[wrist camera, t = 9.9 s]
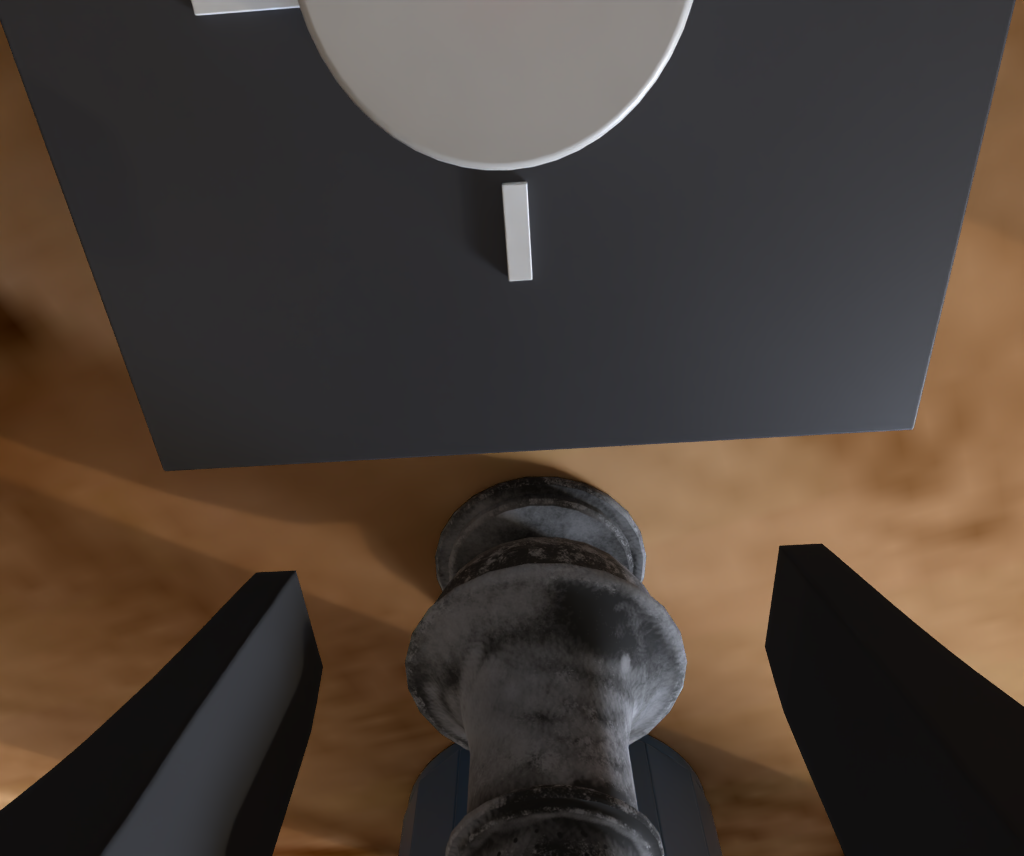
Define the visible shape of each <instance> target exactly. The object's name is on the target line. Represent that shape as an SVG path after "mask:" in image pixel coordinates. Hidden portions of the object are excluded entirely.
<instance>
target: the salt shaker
mask: <svg viewBox="0 0 1024 856" xmlns="http://www.w3.org/2000/svg"><path fill="white" fill-rule="evenodd" d="M435 560H436V572H437V580H438V582H439V584H440V587H441V589H442V591H443V592H442V593H441V595H440V596H439V598H438V599H437V601H436V602H435V603H434V605H433V606H431V607H430V608H429V609H428V611H427V612H426V614H425V615H424V617H423V618H422V620H421V621H420V622H419V624H418V625H417V627H416V628H415V630H414V631H413V633H412V636H411V640H410V644H409V648H408V652H407V656H406V660H405V667H406V675H407V684H408V689H409V691H410V693H411V695H412V697H413V699H414V701H415V703H416V705H417V707H418V709H419V711H420V713H421V714H422V715H423V716H424V717H425V718H426V719H427V720H428V721H429V722H430V723H431V724H432V725H433V726H434V727H435V728H436V729H437V730H438V731H439V732H440V733H441V734H442V735H444V736H445V737H447V738H448V739H450V740H452V741H453V742H455V743H457V744H458V745H460V746H461V747H463V748H465V749H466V750H469V751H470V768H469V784H468V800H467V815H465V816H464V818H463V819H462V820H461V821H460V822H459V823H458V825H457V826H456V827H455V828H454V829H453V830H452V832H451V835H450V837H449V840H448V843H447V846H446V851H445V856H664V849H663V846H662V842H661V839H660V835H659V832H658V830H657V829H656V828H655V827H654V825H653V824H652V823H651V822H650V820H649V819H648V818H647V817H646V816H645V815H644V814H643V813H641V812H640V811H638V806H637V800H636V793H635V787H634V781H633V774H632V768H631V761H630V755H629V749H628V747H629V745H630V744H632V743H633V742H635V741H636V740H638V739H640V738H641V737H643V736H645V735H646V734H648V733H649V732H650V731H651V730H652V729H653V728H654V727H655V726H656V725H657V724H658V723H659V722H660V721H661V720H662V719H663V718H664V717H665V716H666V715H667V714H668V713H669V712H670V711H671V709H672V707H673V705H674V703H675V701H676V699H677V698H678V696H679V694H680V692H681V690H682V688H683V685H684V678H685V672H686V665H687V659H686V654H685V650H684V646H683V641H682V637H681V633H680V631H679V629H678V627H677V626H676V624H675V623H674V621H673V620H672V618H671V617H670V615H669V614H668V612H667V611H666V609H665V607H664V606H662V605H661V604H660V603H659V602H657V601H656V600H655V599H654V598H653V597H651V596H650V594H649V593H648V591H647V589H646V588H645V586H644V585H643V584H642V581H643V578H644V572H645V563H646V553H645V549H644V545H643V540H642V536H641V532H640V530H639V529H638V527H637V525H636V524H635V522H634V521H633V519H632V517H631V516H630V514H629V513H628V511H627V510H625V509H624V508H623V507H622V506H621V505H620V504H618V503H617V502H616V501H615V500H614V499H613V498H612V497H610V496H609V495H607V494H605V493H603V492H601V491H599V490H597V489H595V488H593V487H591V486H589V485H587V484H585V483H581V482H576V481H572V480H567V479H563V478H558V477H526V478H521V479H517V480H513V481H508V482H504V483H500V484H497V485H495V486H493V487H491V488H489V489H487V490H485V491H483V492H481V493H479V494H477V495H475V496H473V497H472V498H471V499H470V500H468V501H467V502H466V503H465V504H464V505H463V506H461V507H460V508H459V509H458V510H457V511H456V512H454V514H453V515H452V517H451V518H450V520H449V522H448V523H447V525H446V526H445V528H444V529H443V531H442V532H441V536H440V540H439V543H438V547H437V551H436V556H435Z"/></svg>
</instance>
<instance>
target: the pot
mask: <svg viewBox="0 0 1024 856" xmlns="http://www.w3.org/2000/svg"><path fill="white" fill-rule="evenodd" d="M628 749H629V755H630V761H631V768H632V774H633V781H634V787H635V793H636V800H637V806H638V811H640V812H641V813H643V814H644V815H645V816H646V817H647V818H648V819H649V820H650V822H651V823H652V824H653V825H654V827H655V828H656V829H657V830H658V832H659V835H660V839H661V842H662V846H663V849H664V856H722V852H721V847H720V843H719V839H718V835H717V831H716V827H715V823H714V819H713V815H712V811H711V807H710V804H709V802H708V801H707V799H706V797H705V795H704V791H703V787H702V785H701V783H700V781H699V778H698V776H697V775H696V773H695V772H694V771H693V769H692V768H691V766H690V765H689V764H688V763H687V762H686V761H685V760H684V759H683V758H682V757H681V756H680V755H679V754H678V753H677V752H675V751H674V750H673V749H671V748H670V747H668V746H667V745H666V744H664V743H662V742H660V741H659V740H657V739H655V738H653V737H651V736H649V735H647V734H646V735H645V736H643V737H641V738H640V739H638V740H636V741H635V742H633V743H632V744H630V745H629V747H628ZM469 768H470V751H469V750H466V749H465V748H463V747H461V746H460V745H458V744H457V743H454V744H453V745H451V746H450V747H449V748H447V749H446V750H444V751H443V752H441V753H440V754H439V755H438V756H437V757H435V758H434V759H433V760H432V761H431V762H430V763H429V764H428V765H427V766H426V768H425V769H424V770H423V771H422V773H421V774H420V775H419V777H418V779H417V781H416V782H415V784H414V786H413V788H412V791H411V795H410V798H409V803H408V808H407V811H406V813H405V815H404V820H403V827H402V834H401V841H400V848H399V856H445V851H446V846H447V843H448V840H449V837H450V835H451V832H452V830H453V829H454V828H455V827H456V826H457V825H458V823H459V822H460V821H461V820H462V819H463V818H464V816H465V815H467V800H468V784H469Z"/></svg>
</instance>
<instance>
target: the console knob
mask: <svg viewBox="0 0 1024 856" xmlns="http://www.w3.org/2000/svg"><path fill="white" fill-rule="evenodd" d="M298 3H299V6H300V9H301V12H302V14H303V17H304V20H305V23H306V26H307V28H308V31H309V33H310V35H311V37H312V39H313V41H314V43H315V45H316V47H317V49H318V52H319V54H320V56H321V58H322V59H323V61H324V62H325V64H326V65H327V67H328V69H329V70H330V72H331V73H332V75H333V77H334V78H335V80H336V81H337V83H338V84H339V85H340V86H341V88H342V89H343V90H344V91H345V93H346V94H347V95H348V96H349V98H350V99H351V100H352V101H353V103H354V104H355V105H356V106H357V107H358V108H359V109H360V110H361V111H362V112H364V113H365V114H366V115H367V116H368V117H369V118H370V119H371V120H372V121H373V122H374V123H375V124H376V125H378V126H379V127H380V128H382V129H383V130H384V131H385V132H387V133H388V134H389V135H391V136H392V137H393V138H395V139H396V140H398V141H400V142H402V143H403V144H405V145H407V146H408V147H410V148H412V149H413V150H415V151H417V152H420V153H422V154H424V155H427V156H429V157H431V158H434V159H436V160H438V161H442V162H445V163H449V164H453V165H456V166H460V167H465V168H473V169H480V170H514V169H521V168H529V167H534V166H538V165H541V164H545V163H548V162H552V161H556V160H558V159H560V158H563V157H565V156H567V155H570V154H572V153H574V152H576V151H579V150H580V149H582V148H584V147H585V146H587V145H589V144H590V143H592V142H594V141H595V140H597V139H599V138H600V137H602V136H603V135H604V134H605V133H607V132H608V131H609V130H611V129H612V128H613V127H614V126H616V125H617V124H618V123H619V122H621V121H622V120H623V119H624V118H625V117H626V116H627V115H628V114H629V113H630V112H631V111H632V110H633V109H634V107H635V106H636V105H637V104H638V103H639V102H640V101H641V100H642V99H643V97H644V96H645V95H646V93H647V92H648V91H649V90H650V88H651V87H652V86H653V84H654V83H655V82H656V80H657V79H658V77H659V76H660V74H661V72H662V71H663V69H664V67H665V66H666V64H667V62H668V61H669V59H670V57H671V56H672V54H673V51H674V49H675V47H676V45H677V43H678V41H679V38H680V36H681V34H682V32H683V30H684V27H685V24H686V21H687V18H688V15H689V12H690V9H691V6H692V3H693V0H298Z"/></svg>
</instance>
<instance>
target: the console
mask: <svg viewBox="0 0 1024 856" xmlns="http://www.w3.org/2000/svg"><path fill="white" fill-rule="evenodd" d="M1015 1H1016V0H693V3H692V6H691V9H690V12H689V15H688V18H687V21H686V24H685V27H684V30H683V32H682V34H681V36H680V38H679V41H678V43H677V45H676V47H675V49H674V51H673V54H672V56H671V57H670V59H669V61H668V62H667V64H666V66H665V67H664V69H663V71H662V72H661V74H660V76H659V77H658V79H657V80H656V82H655V83H654V84H653V86H652V87H651V88H650V90H649V91H648V92H647V93H646V95H645V96H644V97H643V99H642V100H641V101H640V102H639V103H638V104H637V105H636V106H635V107H634V109H633V110H632V111H631V112H630V113H629V114H628V115H627V116H626V117H625V118H624V119H623V120H622V121H621V122H619V123H618V124H617V125H616V126H614V127H613V128H612V129H611V130H609V131H608V132H607V133H605V134H604V135H603V136H602V137H600V138H599V139H597V140H595V141H594V142H592V143H590V144H589V145H587V146H585V147H584V148H582V149H580V150H579V151H576V152H574V153H572V154H570V155H567V156H565V157H563V158H560V159H558V160H556V161H552V162H548V163H545V164H541V165H538V166H534V167H529V168H521V169H514V170H480V169H473V168H465V167H460V166H456V165H453V164H449V163H445V162H442V161H438V160H436V159H434V158H431V157H429V156H427V155H424V154H422V153H420V152H417V151H415V150H413V149H412V148H410V147H408V146H407V145H405V144H403V143H402V142H400V141H398V140H396V139H395V138H393V137H392V136H391V135H389V134H388V133H387V132H385V131H384V130H383V129H382V128H380V127H379V126H378V125H376V124H375V123H374V122H373V121H372V120H371V119H370V118H369V117H368V116H367V115H366V114H365V113H364V112H362V111H361V110H360V109H359V108H358V107H357V106H356V105H355V104H354V103H353V101H352V100H351V99H350V98H349V96H348V95H347V94H346V93H345V91H344V90H343V89H342V88H341V86H340V85H339V84H338V83H337V81H336V80H335V78H334V77H333V75H332V73H331V72H330V70H329V69H328V67H327V65H326V64H325V62H324V61H323V59H322V58H321V56H320V54H319V52H318V49H317V47H316V45H315V43H314V41H313V39H312V37H311V35H310V33H309V31H308V28H307V26H306V23H305V20H304V17H303V14H302V12H301V9H300V6H299V3H298V0H0V21H1V24H2V27H3V29H4V32H5V35H6V38H7V40H8V43H9V46H10V49H11V51H12V54H13V57H14V60H15V62H16V65H17V68H18V71H19V73H20V76H21V79H22V82H23V84H24V87H25V90H26V93H27V95H28V98H29V101H30V104H31V106H32V109H33V112H34V115H35V117H36V120H37V123H38V126H39V128H40V131H41V134H42V137H43V139H44V142H45V145H46V148H47V150H48V153H49V156H50V159H51V161H52V164H53V167H54V170H55V172H56V175H57V178H58V181H59V183H60V186H61V189H62V192H63V194H64V197H65V200H66V203H67V205H68V208H69V211H70V214H71V216H72V219H73V222H74V225H75V227H76V230H77V233H78V236H79V238H80V241H81V244H82V247H83V249H84V252H85V255H86V258H87V260H88V263H89V266H90V269H91V271H92V274H93V277H94V280H95V282H96V285H97V288H98V291H99V293H100V296H101V299H102V302H103V304H104V307H105V310H106V313H107V315H108V318H109V321H110V324H111V326H112V329H113V332H114V335H115V337H116V340H117V343H118V346H119V348H120V351H121V354H122V356H123V359H124V362H125V365H126V367H127V370H128V373H129V376H130V378H131V381H132V384H133V387H134V389H135V392H136V395H137V398H138V400H139V403H140V406H141V409H142V411H143V414H144V417H145V420H146V422H147V425H148V428H149V431H150V433H151V436H152V439H153V442H154V444H155V447H156V450H157V453H158V455H159V458H160V461H161V464H162V466H163V469H164V470H165V471H176V470H194V469H212V468H230V467H248V466H266V465H284V464H302V463H320V462H338V461H356V460H374V459H392V458H410V457H428V456H446V455H464V454H482V453H500V452H518V451H536V450H554V449H572V448H590V447H608V446H626V445H644V444H661V443H679V442H697V441H715V440H733V439H751V438H769V437H787V436H805V435H823V434H841V433H859V432H877V431H895V430H912V429H913V428H914V425H915V421H916V416H917V412H918V408H919V404H920V400H921V395H922V391H923V387H924V383H925V379H926V374H927V370H928V366H929V362H930V358H931V353H932V349H933V345H934V341H935V337H936V332H937V328H938V324H939V320H940V316H941V311H942V307H943V303H944V299H945V295H946V290H947V286H948V282H949V278H950V274H951V269H952V265H953V261H954V257H955V253H956V248H957V244H958V240H959V236H960V232H961V227H962V223H963V219H964V215H965V211H966V206H967V202H968V198H969V194H970V190H971V185H972V181H973V177H974V173H975V169H976V164H977V160H978V156H979V152H980V148H981V143H982V139H983V135H984V131H985V127H986V122H987V118H988V114H989V110H990V106H991V101H992V97H993V93H994V89H995V85H996V80H997V76H998V72H999V68H1000V64H1001V59H1002V55H1003V51H1004V47H1005V43H1006V38H1007V34H1008V30H1009V26H1010V22H1011V17H1012V13H1013V9H1014V5H1015Z"/></svg>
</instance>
